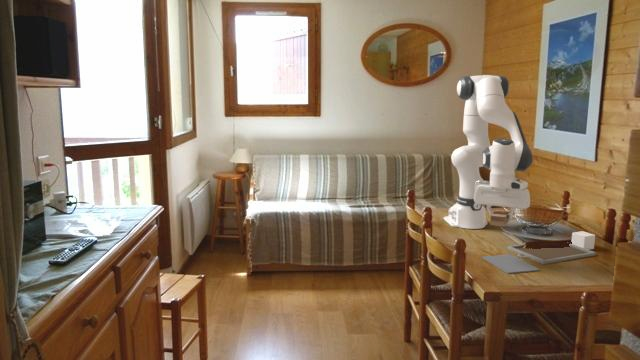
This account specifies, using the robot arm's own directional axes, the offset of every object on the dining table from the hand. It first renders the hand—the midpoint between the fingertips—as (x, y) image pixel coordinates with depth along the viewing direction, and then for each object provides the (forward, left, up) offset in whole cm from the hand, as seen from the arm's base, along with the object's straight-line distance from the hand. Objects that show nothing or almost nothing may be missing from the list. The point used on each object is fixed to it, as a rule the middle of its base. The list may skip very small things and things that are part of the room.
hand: (500, 217), depth 185 cm
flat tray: (-1, +23, -17) cm, 29 cm away
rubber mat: (+7, 0, -16) cm, 18 cm away
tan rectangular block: (0, 0, -2) cm, 2 cm away
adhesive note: (-3, +41, -16) cm, 45 cm away
